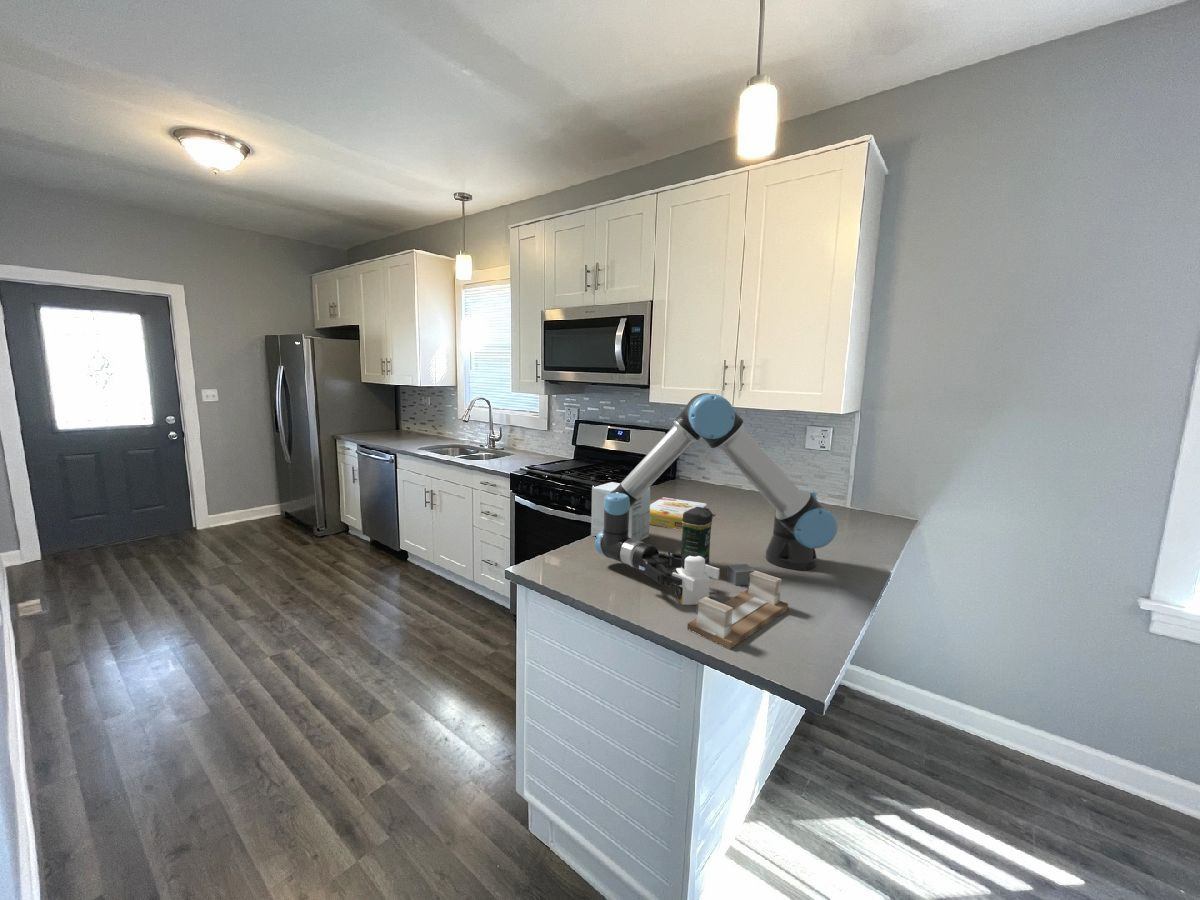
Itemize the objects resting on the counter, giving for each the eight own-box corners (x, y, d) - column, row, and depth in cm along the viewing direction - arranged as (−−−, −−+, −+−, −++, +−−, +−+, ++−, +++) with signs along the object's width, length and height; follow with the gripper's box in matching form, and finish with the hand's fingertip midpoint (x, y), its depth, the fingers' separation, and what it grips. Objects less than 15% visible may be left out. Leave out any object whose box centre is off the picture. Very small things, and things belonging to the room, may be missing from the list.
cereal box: (638, 510, 189) (662, 495, 214) (638, 524, 189) (661, 507, 215) (689, 518, 180) (707, 502, 205) (688, 533, 181) (706, 514, 206)
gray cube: (745, 577, 140) (746, 564, 140) (754, 584, 135) (755, 570, 135) (726, 578, 139) (727, 565, 138) (735, 585, 134) (736, 572, 133)
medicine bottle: (674, 593, 128) (676, 549, 126) (700, 592, 129) (703, 549, 127) (681, 605, 121) (683, 560, 119) (708, 605, 122) (711, 559, 120)
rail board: (747, 594, 128) (749, 567, 127) (787, 609, 120) (790, 580, 119) (687, 629, 110) (688, 598, 108) (730, 649, 102) (732, 616, 101)
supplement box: (650, 536, 174) (652, 487, 171) (631, 546, 163) (633, 494, 161) (610, 527, 184) (611, 480, 181) (589, 536, 173) (590, 487, 170)
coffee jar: (701, 577, 139) (704, 514, 136) (675, 570, 143) (678, 510, 141) (712, 566, 147) (716, 507, 144) (688, 560, 151) (691, 503, 149)
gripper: (664, 558, 145) (729, 581, 129) (611, 578, 129) (678, 608, 114) (665, 534, 144) (731, 554, 128) (612, 551, 128) (680, 577, 113)
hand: (706, 579), depth 121 cm, fingers open, 10 cm apart
